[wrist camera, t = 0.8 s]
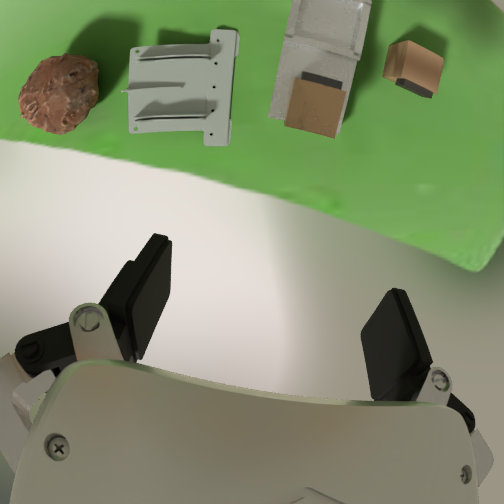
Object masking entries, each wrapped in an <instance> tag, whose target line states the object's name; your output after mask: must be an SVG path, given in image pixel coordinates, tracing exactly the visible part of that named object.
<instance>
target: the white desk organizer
mask: <svg viewBox="0 0 504 504" xmlns="http://www.w3.org/2000/svg"><path fill="white" fill-rule="evenodd" d="M371 3H372V1H371V0H293V1H292V6H291V10H290V15H289V19H288V24H287V28H286V33H285V38H284V44H283V48H282V53H281V58H280V62H279V67H278V72H277V77H276V81H275V86H274V91H273V96H272V101H271V106H270V110H269V115H268V117H270V118H275V119H279V120H284V125H285V126H287V127H291V128H296V129H300V130H304V131H308V132H312V133H316V134H320V135H323V136H327V137H331V138H335V135H336V134H339V132H340V128H341V125H342V121H343V117H344V113H345V109H346V105H347V101H348V97H349V93H350V89H351V85H352V81H353V77H354V72H355V68H356V64H357V61H360V58H361V53H362V49H363V44H364V39H365V34H366V29H367V24H368V19H369V14H370V8H371Z"/></svg>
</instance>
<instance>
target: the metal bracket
mask: <svg viewBox="0 0 504 504" xmlns="http://www.w3.org/2000/svg"><path fill="white" fill-rule="evenodd" d="M217 39H219V40H220V41H219V42H217V41H216V40H217ZM239 40H240V36H239V34H238V32H237V31H235V30H220V29H214V30H212V31H211V36H210V43H209V44H173V45H156V46H144V47H135V48H132V49H131V50H130V63H129V88H127V90H124V91H121V92H127V93H129V97H128V111H129V133H131V134H134V133H147V132H164V131H196V130H201V131H203V132H204V145H205V146H227V145H229V143H230V136H231V124H232V120H230V106H231V93H232V81H233V69H234V58H235V56H237V55H238V49H239ZM136 50H140V52H139V53H136ZM215 62H217V63H218V64H217V65H215V64H214V63H215ZM213 86H216V88H213ZM212 109H214V112H211V110H212ZM134 127H138V130H137V131H135V130H134ZM210 133H213V135H212V136H211V135H210Z"/></svg>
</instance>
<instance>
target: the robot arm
mask: <svg viewBox="0 0 504 504" xmlns="http://www.w3.org/2000/svg"><path fill="white" fill-rule="evenodd" d="M171 257H172V241H170V240H168V237H167V236H165V235H160V234H156V233H154V234H153V235H152V237H151V238H150V239H149V241H148V242H147V243H146V245H145V247H144V248H143V249H142V251H141V252H140V254H139V255H138V257H137V258H136V259H135V261H131V260H129V261H127V262H126V264H125V265H124V266H123V268H122V269H121V271H120V272H119V274H118V275H117V277H116V278H115V279H114V281H113V282H112V284H111V285H110V287H109V289H108V290H107V291H106V293H105V294H104V296H103V298H102V299H101V301H100V302H99V304H95V303H85V304H82V305H79V306H77V307H76V308H75V309H74V310H73V311H72V312H71V314H70V317H69V322H67V323H64V324H60V325H58V326H54V327H51V328H48V329H45V330H42V331H38V332H35V333H32V334H29V335H27V336H24V337H23V338H22V339H21V340H20V341H19V342H18V344H17V345H16V349H15V353H13V354H12V355H10V353H7V354H6V355H5V356H3V357H2V358H0V450H1V452H2V454H3V455H4V457H5V459H6V461H7V462H8V464H9V465H10V467H11V469H12V470H13V472H14V473H15V480H14V484H13V488H12V493H11V499H10V504H479V498H478V497H479V496H478V487H479V485H480V484H481V483H482V481H483V480H484V478H485V477H486V475H487V474H488V472H489V471H490V469H491V468H492V465H493V461H494V459H493V454H492V452H491V450H490V449H489V447H488V445H487V444H486V442H485V440H484V439H483V437H482V435H481V434H480V432H479V431H478V429H477V428H476V429H475V430H474V428H475V418H474V415H473V413H472V412H471V411H470V409H469V408H467V407H466V406H465V405H464V404H463V403H462V402H461V401H460V400H459V399H458V398H456V397H455V396H454V395H453V394H452V393H451V390H452V381H451V378H450V376H449V375H448V373H447V372H446V371H445V370H444V369H442V368H440V367H433V368H432V369H431V368H430V365H431V364H432V363H433V361H432V358H431V355H430V352H429V349H428V346H427V344H426V341H425V338H424V335H423V333H422V330H421V327H420V325H419V322H418V320H417V317H416V315H415V312H414V310H413V307H412V305H411V303H410V300H409V298H408V296H407V293H406V291H405V290H402V289H397V288H392V289H391V290H389V291H387V293H386V294H385V296H384V297H383V299H382V301H381V302H380V304H379V305H378V307H377V308H376V310H375V311H374V313H373V314H372V316H371V317H370V319H369V320H368V322H367V323H366V325H365V326H364V327H363V329H362V331H361V341H362V346H363V351H364V356H365V362H366V368H367V373H368V379H369V385H370V391H371V397H372V399H374V401H356V400H337V399H325V398H312V397H303V396H294V395H287V394H279V393H272V392H265V391H259V390H253V389H247V388H242V387H236V386H231V385H226V384H221V383H216V382H212V381H207V380H203V379H198V378H194V377H190V376H186V375H181V374H177V373H174V372H170V371H166V370H162V369H159V368H155V367H150V366H146V365H142V364H139V363H136V362H137V360H138V359H139V360H141V359H142V358H143V356H144V354H145V351H146V349H147V346H148V344H149V341H150V339H151V337H152V334H153V332H154V330H155V327H156V325H157V323H158V321H159V318H160V316H161V314H162V311H163V309H164V307H165V305H166V302H167V300H168V298H169V295H170V286H171V285H170V284H171ZM43 393H46V395H45V397H44V399H43V401H42V403H41V405H40V407H39V410H38V411H37V414H36V416H35V418H34V421H33V423H31V421H30V418H29V411H30V408H31V406H32V405H33V404H34V403H35V402H37V401H38V400H39V398H38V397H39V396H41V395H42V394H43ZM66 439H67V440H66Z"/></svg>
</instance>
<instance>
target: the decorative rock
mask: <svg viewBox="0 0 504 504" xmlns="http://www.w3.org/2000/svg"><path fill="white" fill-rule="evenodd" d="M98 73H99V70H98V65H97V62H95V61H93V60H90V59H88V58H87V57H85V56H84V55H68V54H67V53H65V54H63V56H52V57H49V58H47V59H45V60H43V61H41V62H40V63H39V65H38V66H37V67H36V69H35V70H34V71H33V72H32V73H31V75H30V76H29V77H28V79H27V82H26V84H25V85H24V86H23V87H22V88H21V92H20V94H19V97H18V103H19V105H20V112H21V113H22V114H21V117H22V118H25V119H26V120H27V121H28V123H30V124H31V125H32V126H34V127H36V128H42V129H43V130H44V131H45V132H51V133H53V134H58V135H62V134H66V133H67V132H69V131H73V130H74V129H75V127H76V126H77V125H78V124H80V123H81V122H82V121H83V120H85V119H86V118H87V116H88V113H89V111H90V109H91V108H93V107H95V103H96V102H97V101H98V97H99V88H98Z"/></svg>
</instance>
